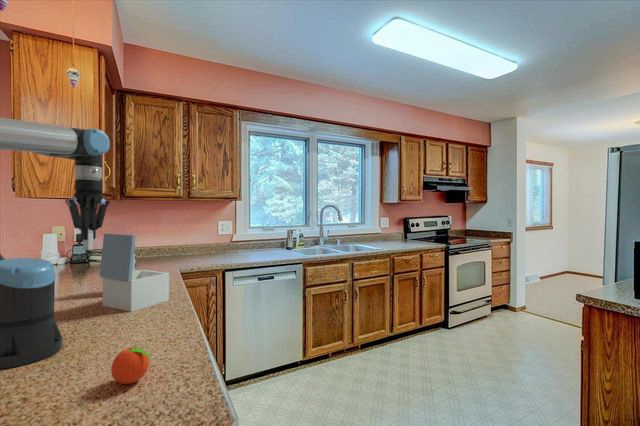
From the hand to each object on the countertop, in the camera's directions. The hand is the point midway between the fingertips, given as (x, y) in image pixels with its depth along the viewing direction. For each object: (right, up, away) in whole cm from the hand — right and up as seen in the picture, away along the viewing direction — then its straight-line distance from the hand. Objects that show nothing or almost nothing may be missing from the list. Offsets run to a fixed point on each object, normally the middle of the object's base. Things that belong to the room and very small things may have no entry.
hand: (88, 249), depth 108 cm
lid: (+4, -4, +10) cm, 11 cm away
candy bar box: (-9, -23, +31) cm, 39 cm away
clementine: (+39, -24, -40) cm, 61 cm away
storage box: (+7, -23, +16) cm, 29 cm away
